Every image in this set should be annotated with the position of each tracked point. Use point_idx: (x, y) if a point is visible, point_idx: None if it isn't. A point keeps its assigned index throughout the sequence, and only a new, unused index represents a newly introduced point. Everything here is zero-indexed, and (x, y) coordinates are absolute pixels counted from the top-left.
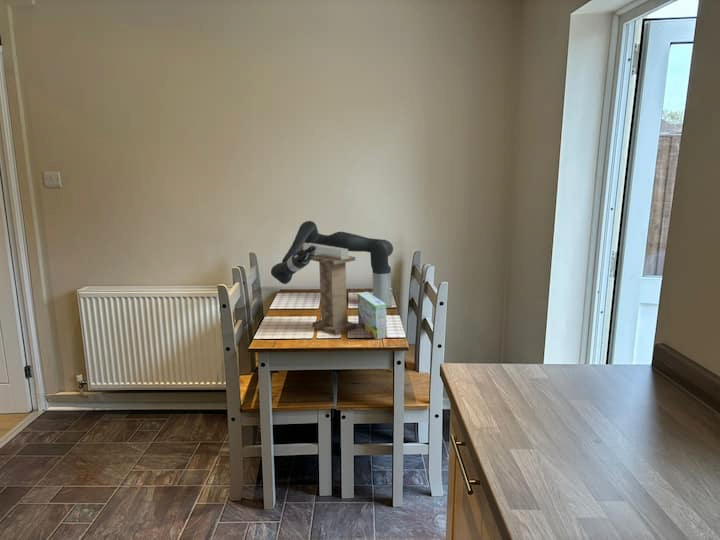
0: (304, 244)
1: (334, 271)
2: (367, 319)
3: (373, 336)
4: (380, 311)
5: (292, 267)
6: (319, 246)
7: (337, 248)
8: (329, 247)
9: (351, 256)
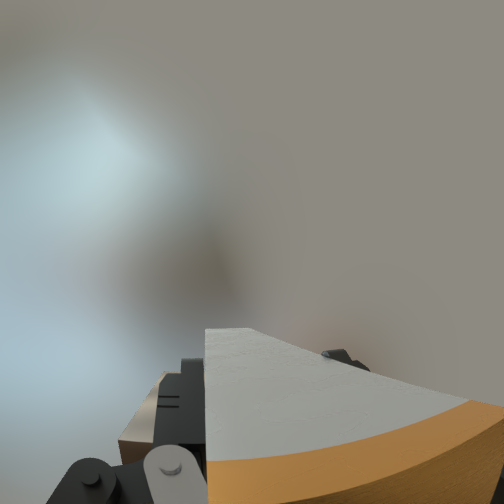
0: (450, 403)
1: None
2: None
3: None
4: None
5: None
6: (285, 345)
7: (231, 331)
8: (246, 336)
9: (163, 376)
